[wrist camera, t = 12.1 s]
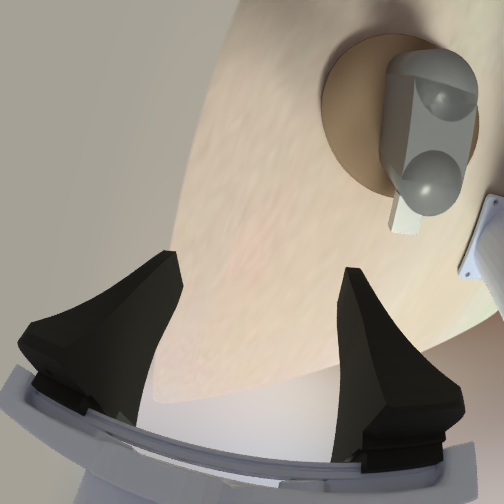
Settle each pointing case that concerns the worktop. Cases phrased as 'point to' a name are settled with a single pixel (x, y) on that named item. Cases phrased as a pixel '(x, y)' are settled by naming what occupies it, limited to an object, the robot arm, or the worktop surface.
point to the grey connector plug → (426, 133)
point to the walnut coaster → (365, 107)
